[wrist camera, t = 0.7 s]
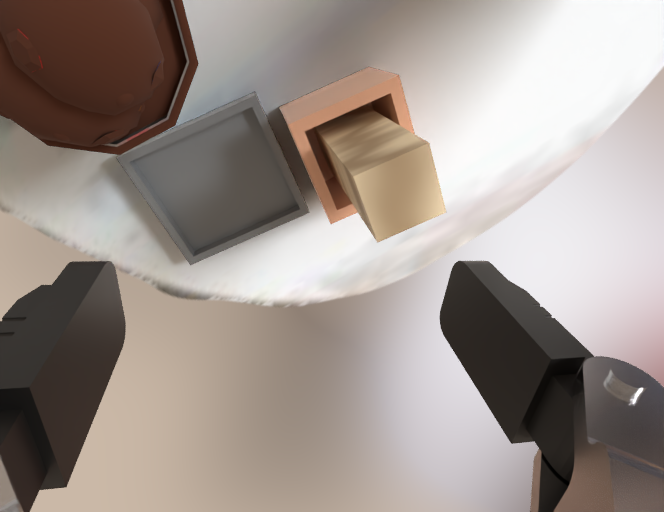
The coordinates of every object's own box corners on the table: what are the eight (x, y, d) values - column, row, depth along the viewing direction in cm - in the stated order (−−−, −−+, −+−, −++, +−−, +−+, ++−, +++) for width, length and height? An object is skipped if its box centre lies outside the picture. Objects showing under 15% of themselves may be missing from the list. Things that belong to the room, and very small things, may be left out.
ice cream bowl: (93, -113, 24) (-83, -285, 11) (241, 45, 29) (241, 55, 16) (-6, 29, 26) (-252, 26, 13) (148, 151, 31) (82, 235, 18)
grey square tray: (254, 91, 30) (255, 95, 29) (306, 203, 36) (309, 212, 34) (123, 150, 31) (116, 157, 29) (192, 253, 36) (190, 264, 34)
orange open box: (368, 66, 31) (399, 75, 25) (395, 156, 35) (427, 181, 29) (278, 106, 31) (287, 124, 25) (315, 191, 35) (330, 224, 29)
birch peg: (357, 100, 31) (429, 142, 19) (372, 147, 34) (446, 212, 22) (310, 121, 32) (353, 176, 20) (328, 167, 34) (377, 242, 22)
